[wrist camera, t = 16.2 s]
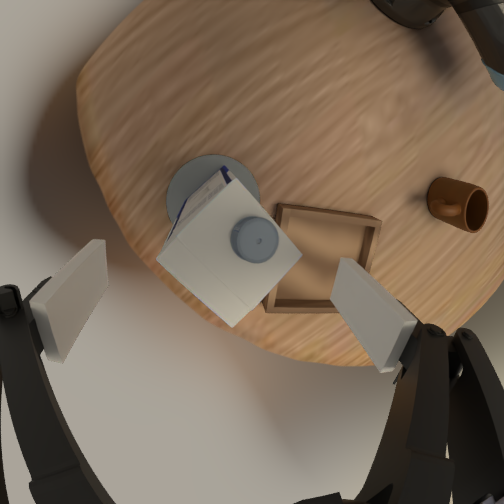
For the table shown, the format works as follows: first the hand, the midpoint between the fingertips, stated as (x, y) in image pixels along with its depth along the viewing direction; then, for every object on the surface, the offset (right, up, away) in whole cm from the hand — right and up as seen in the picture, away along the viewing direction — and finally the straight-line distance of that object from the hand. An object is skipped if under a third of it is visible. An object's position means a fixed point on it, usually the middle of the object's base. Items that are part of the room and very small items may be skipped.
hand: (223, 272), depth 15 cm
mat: (-3, +8, +21) cm, 22 cm away
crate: (+11, 0, +26) cm, 28 cm away
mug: (+32, +10, +26) cm, 43 cm away
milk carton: (-2, +7, +21) cm, 22 cm away
